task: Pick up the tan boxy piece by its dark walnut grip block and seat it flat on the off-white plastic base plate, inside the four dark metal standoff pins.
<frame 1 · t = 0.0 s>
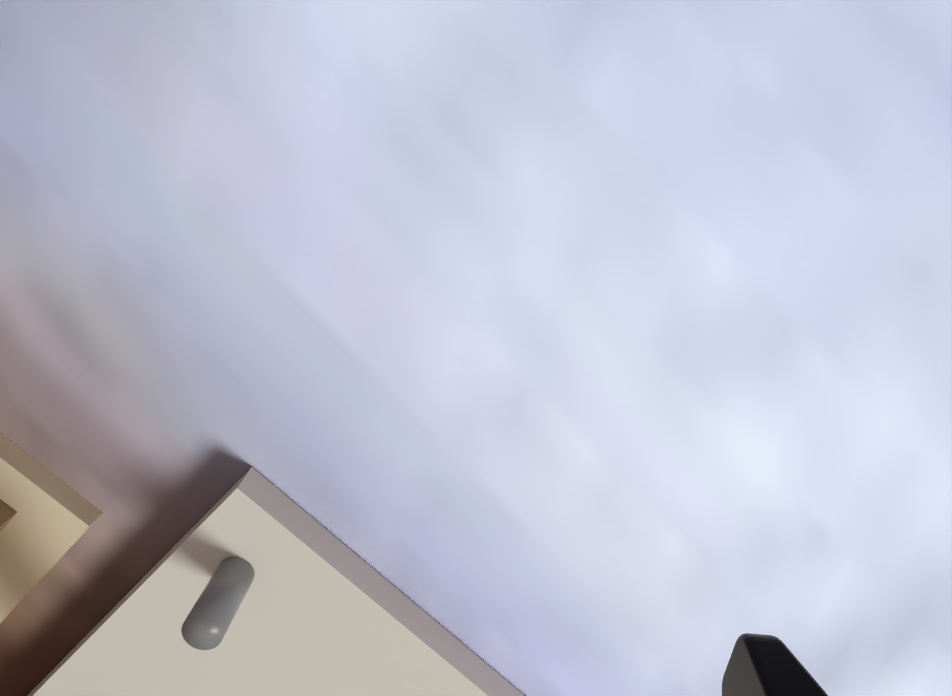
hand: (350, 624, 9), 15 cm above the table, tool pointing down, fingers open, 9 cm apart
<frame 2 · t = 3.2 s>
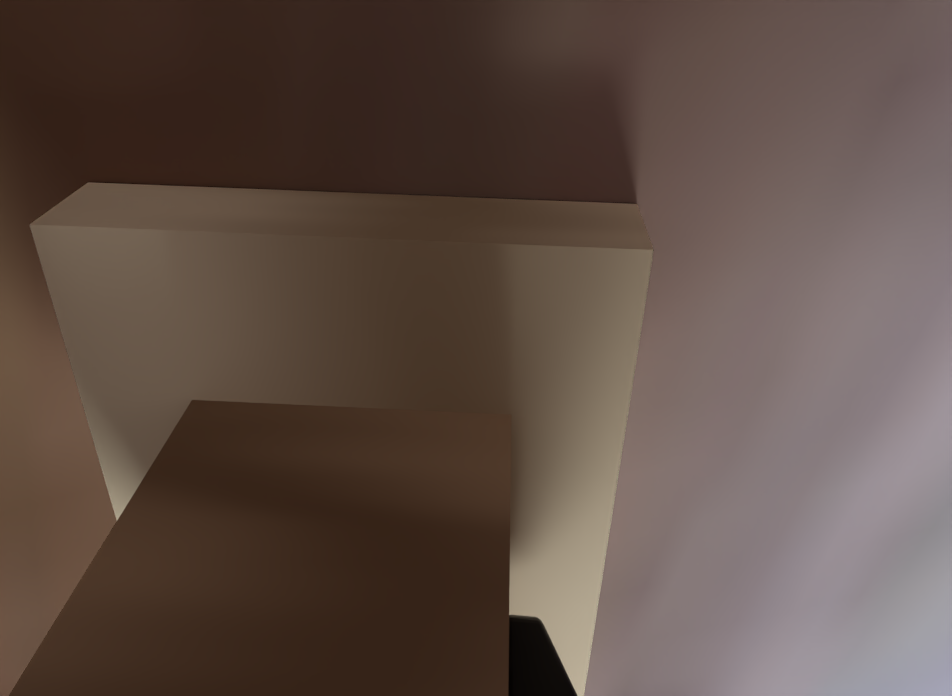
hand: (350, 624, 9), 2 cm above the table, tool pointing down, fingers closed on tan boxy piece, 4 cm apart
tan boxy piece: (377, 502, 11), on the table, touching gripper
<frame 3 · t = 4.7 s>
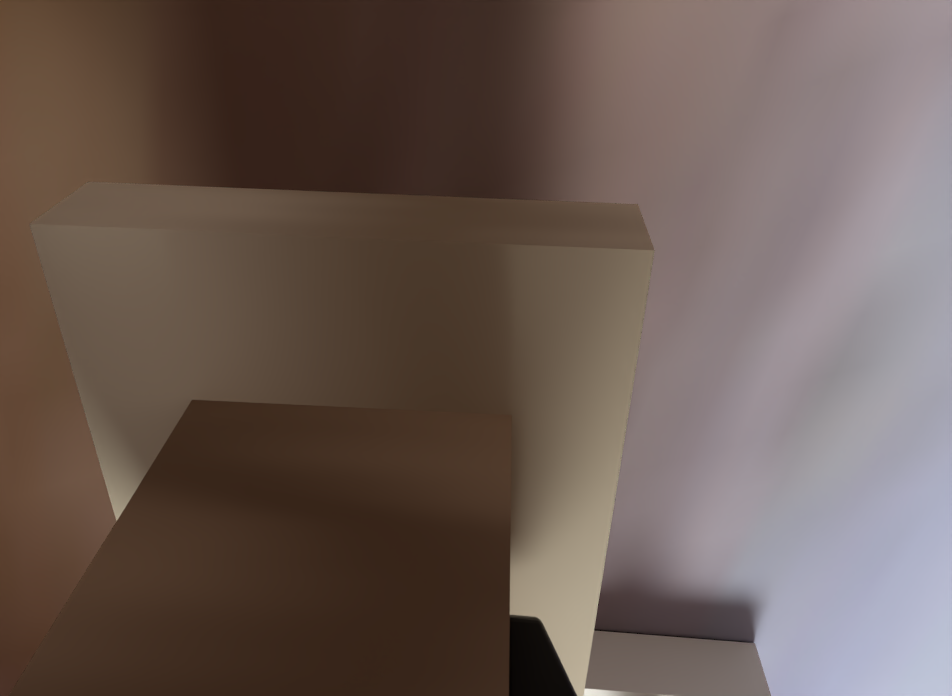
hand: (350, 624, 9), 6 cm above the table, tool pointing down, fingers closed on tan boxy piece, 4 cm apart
tan boxy piece: (377, 502, 11), point 4 cm above the table, touching gripper
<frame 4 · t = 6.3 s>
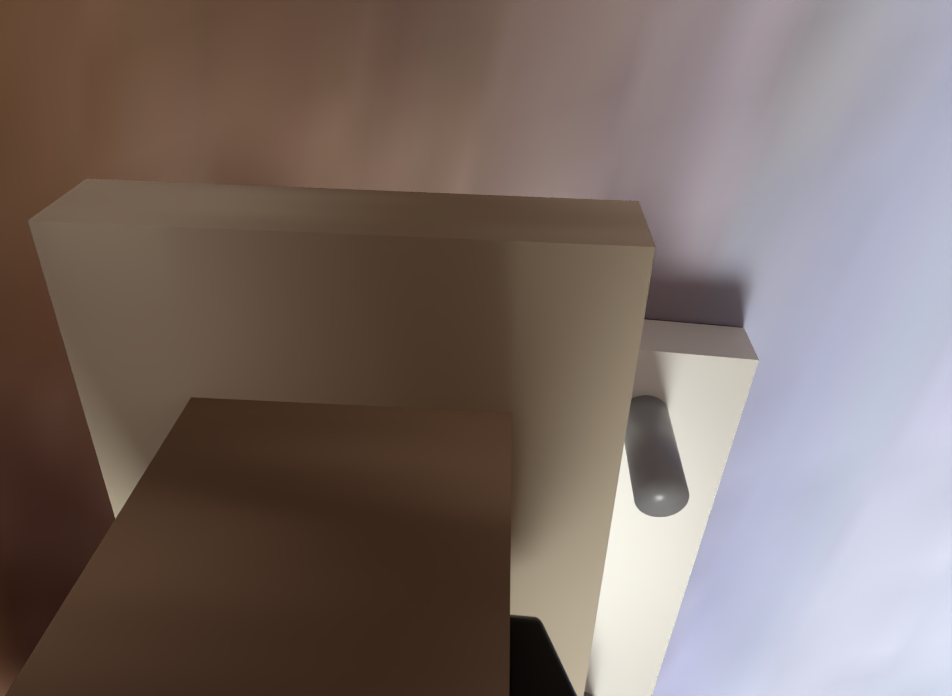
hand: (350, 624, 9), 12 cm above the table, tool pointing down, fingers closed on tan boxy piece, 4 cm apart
tan boxy piece: (377, 501, 11), point 9 cm above the table, touching gripper
chassis: (454, 527, 24), on the table
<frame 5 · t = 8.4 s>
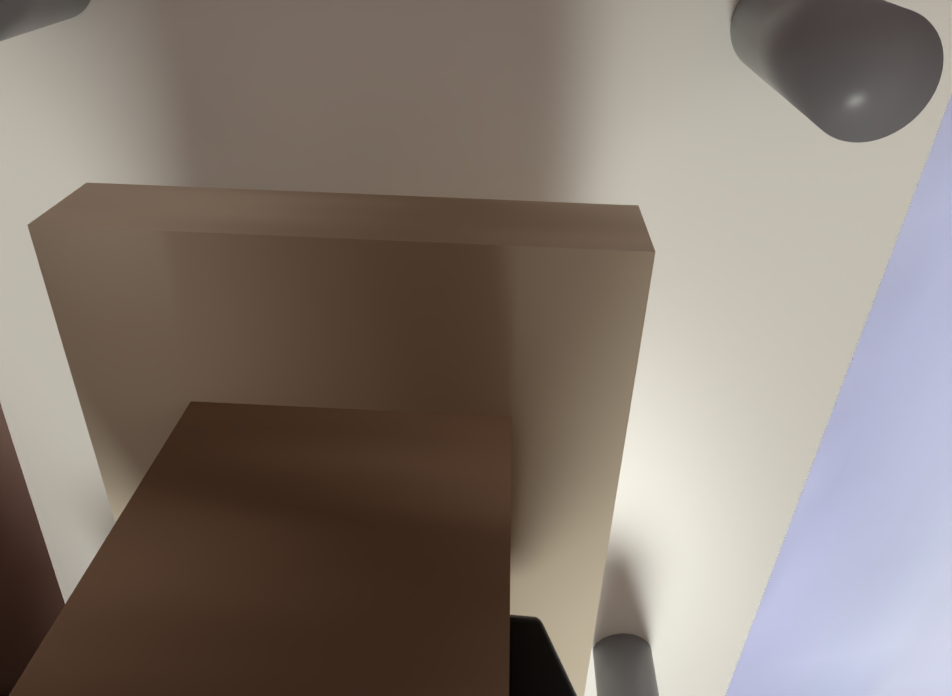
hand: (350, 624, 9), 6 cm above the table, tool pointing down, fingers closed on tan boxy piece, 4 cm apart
tan boxy piece: (376, 504, 11), point 4 cm above the table, touching gripper
chassis: (415, 347, 14), on the table
when the fingers open (5 cm above the table, at t = 9.7 s): tan boxy piece drops 1 cm, resting on chassis.
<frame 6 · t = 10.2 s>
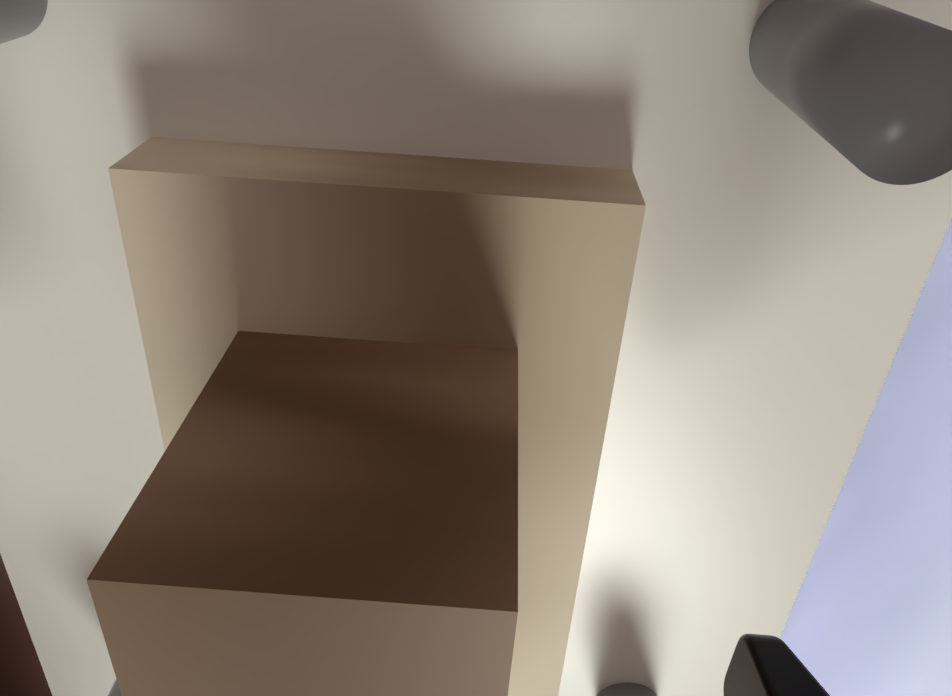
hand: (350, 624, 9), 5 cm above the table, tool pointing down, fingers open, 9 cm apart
tan boxy piece: (391, 438, 12), point 1 cm above the table, touching chassis
chassis: (406, 382, 13), on the table
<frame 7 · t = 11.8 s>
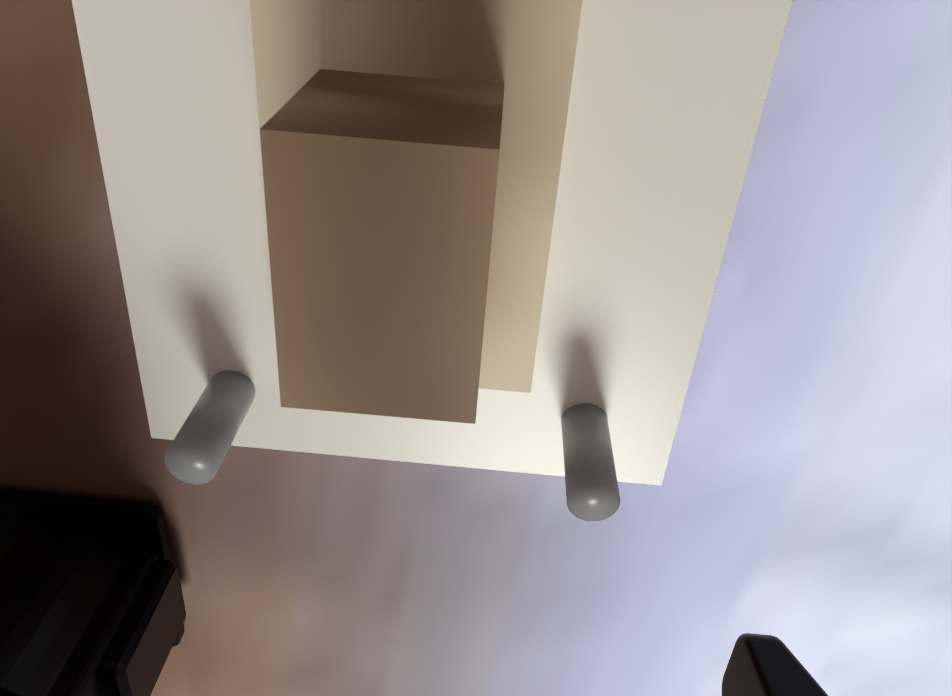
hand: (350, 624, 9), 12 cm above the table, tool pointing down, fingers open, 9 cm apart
tan boxy piece: (415, 182, 17), point 1 cm above the table, touching chassis
chassis: (424, 158, 18), on the table
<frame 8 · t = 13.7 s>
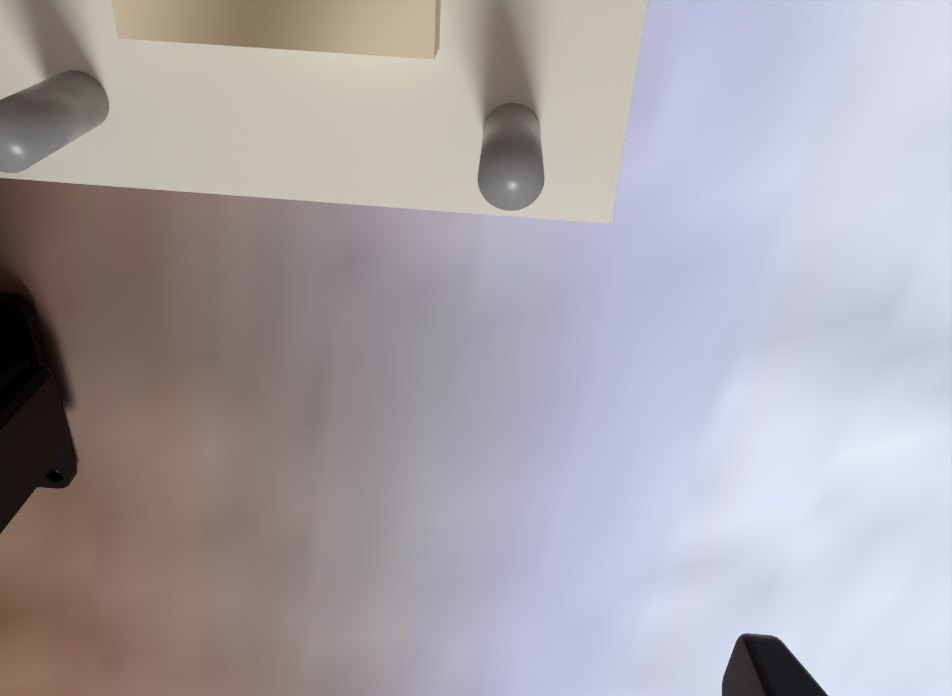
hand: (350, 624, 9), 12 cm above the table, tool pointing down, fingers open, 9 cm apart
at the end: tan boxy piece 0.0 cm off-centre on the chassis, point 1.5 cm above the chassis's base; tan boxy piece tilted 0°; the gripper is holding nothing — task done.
